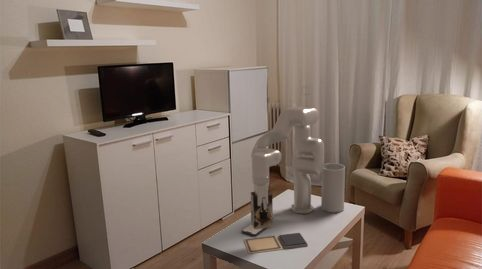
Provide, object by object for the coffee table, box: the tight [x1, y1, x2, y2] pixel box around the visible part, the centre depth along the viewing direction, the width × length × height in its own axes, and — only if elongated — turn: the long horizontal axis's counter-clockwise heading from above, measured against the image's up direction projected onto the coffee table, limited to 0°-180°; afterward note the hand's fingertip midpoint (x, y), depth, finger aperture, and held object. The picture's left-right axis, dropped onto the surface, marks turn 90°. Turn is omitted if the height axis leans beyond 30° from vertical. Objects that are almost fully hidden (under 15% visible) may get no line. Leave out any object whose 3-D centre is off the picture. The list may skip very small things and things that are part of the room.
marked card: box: [243, 234, 284, 255], centre depth 176 cm, size 13×16×1 cm
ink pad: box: [277, 232, 309, 250], centre depth 178 cm, size 11×11×2 cm
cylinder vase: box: [320, 162, 346, 213], centre depth 209 cm, size 12×12×25 cm
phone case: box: [241, 223, 267, 238], centre depth 192 cm, size 9×2×16 cm
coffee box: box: [250, 190, 274, 229], centre depth 172 cm, size 9×6×16 cm
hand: (261, 215), depth 173 cm, fingers closed on coffee box, 6 cm apart
